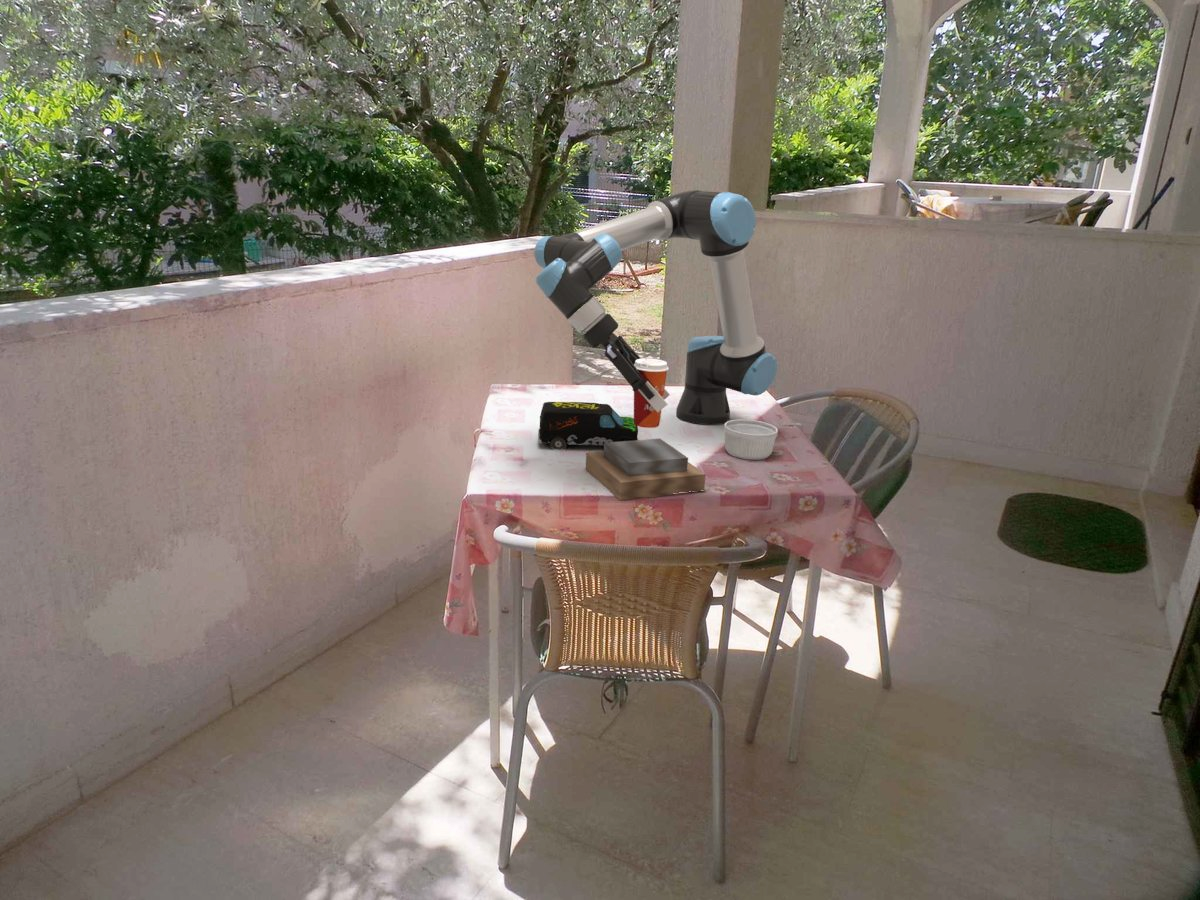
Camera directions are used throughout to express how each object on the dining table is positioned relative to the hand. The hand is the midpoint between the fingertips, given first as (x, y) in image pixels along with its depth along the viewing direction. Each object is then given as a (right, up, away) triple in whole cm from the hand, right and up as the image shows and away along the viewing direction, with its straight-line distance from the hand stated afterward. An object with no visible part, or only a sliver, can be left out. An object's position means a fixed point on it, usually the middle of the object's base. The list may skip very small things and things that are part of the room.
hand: (663, 403), depth 184 cm
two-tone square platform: (-4, -17, +6) cm, 18 cm away
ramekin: (+23, -11, +29) cm, 38 cm away
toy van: (-17, -9, +29) cm, 35 cm away
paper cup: (-4, -5, +2) cm, 6 cm away
